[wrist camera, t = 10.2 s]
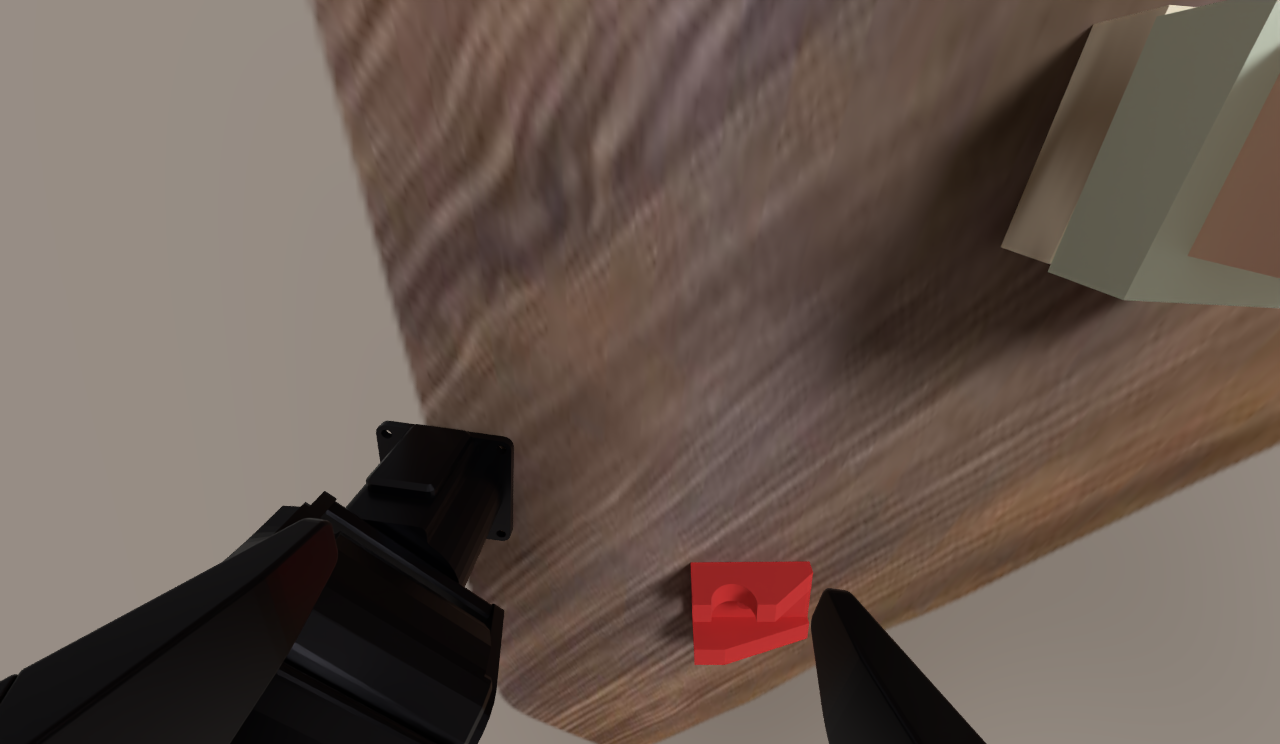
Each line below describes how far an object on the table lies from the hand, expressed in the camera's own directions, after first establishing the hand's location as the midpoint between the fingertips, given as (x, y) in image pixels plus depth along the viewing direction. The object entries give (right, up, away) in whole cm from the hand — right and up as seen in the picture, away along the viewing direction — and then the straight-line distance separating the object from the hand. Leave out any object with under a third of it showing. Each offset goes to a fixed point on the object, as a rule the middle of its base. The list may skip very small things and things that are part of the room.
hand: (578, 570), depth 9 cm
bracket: (+7, -9, +19) cm, 22 cm away
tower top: (+18, +10, +6) cm, 22 cm away
